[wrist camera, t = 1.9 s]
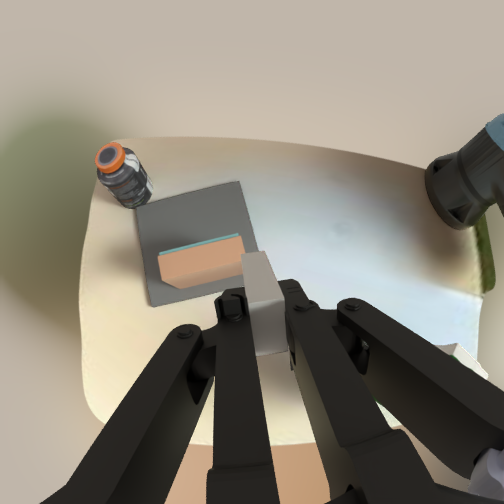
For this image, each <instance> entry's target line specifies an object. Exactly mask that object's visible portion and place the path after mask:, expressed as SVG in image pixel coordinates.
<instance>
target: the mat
mask: <svg viewBox="0 0 504 504" xmlns="http://www.w3.org/2000/svg"><path fill="white" fill-rule="evenodd" d="M136 211H137V220H138V228H139V236H140V243H141V250H142V256H143V262H144V268H145V274H146V280H147V285H148V290H149V295H150V300H151V305H152V307H157V306H162V305H166V304H171V303H175V302H179V301H184V300H188V299H192V298H197V297H201V296H205V295H209V294H213V293H217V292H222V291H225V290H226V289H231V288H238V287H242V286H245V285H244V278H243V274H241V275H237V276H233V277H229V278H225V279H221V280H217V281H212V282H208V283H204V284H200V285H196V286H192V287H188V288H183V289H179V288H177V287H175V286H173V285H170V284H168V283H166V282H164V281H162V278H161V273H160V267H159V262H158V256H160V255H159V253H160V252H163V251H167V250H171V249H175V248H179V247H183V246H187V245H191V244H195V243H199V242H203V241H207V240H211V239H215V238H219V237H223V236H228V235H232V234H236V233H238V235H239V236H241V238H242V242H243V246H244V249H245V253H252V252H259V250H258V247H257V243H256V240H255V236H254V232H253V229H252V225H251V221H250V218H249V214H248V211H247V207H246V203H245V200H244V196H243V193H242V189H241V185H240V182H239V181H237V182H232V183H227V184H223V185H219V186H214V187H210V188H206V189H202V190H198V191H194V192H190V193H186V194H182V195H178V196H174V197H171V198H167V199H163V200H160V201H156V202H153V203H149V204H146V205H142V206H139V207H136Z"/></svg>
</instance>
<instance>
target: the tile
mask: <svg viewBox="0 0 504 504" xmlns="http://www.w3.org/2000/svg"><path fill="white" fill-rule="evenodd" d="M241 254H245V249H244V246H243V242H242V238H241V236H239V235H238V233H236V234H232V235H228V236H223V237H219V238H215V239H211V240H207V241H203V242H199V243H195V244H191V245H187V246H183V247H179V248H175V249H171V250H167V251H163V252H160V253H159V255H160V256H158V262H159V267H160V273H161V278H162V281H164V282H166V283H168V284H170V285H173V286H175V287H177V288H179V289H183V288H188V287H192V286H196V285H200V284H204V283H208V282H212V281H217V280H221V279H225V278H229V277H233V276H237V275H241V274H243V270H242V262H241Z"/></svg>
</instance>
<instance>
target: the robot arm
mask: <svg viewBox="0 0 504 504" xmlns="http://www.w3.org/2000/svg"><path fill="white" fill-rule="evenodd" d="M425 183H426V189H427V192H428V195H429V198H430V200H431V203H432V205H433V206H434V208H435V210H436V211H437V213H438V214H439V215H440V217H441V218H442V219H443V220H444V221H445V222H446V223H447V224H448V225H450V226H451V227H453V228H455V229H458V230H465V229H467V228H469V227H471V226H473V225H475V224H476V223H477V222H478V221H479V219H480V218H481V217H482V216H483V214H484V213H485V212H486V211H487V209H488V208H489V207H490V206H491V205H493V204H495V203H497V204H498V206H499V208H500V210H501V213H502V215H503V217H504V114H500V115H498V116H497V117H496V118H494V119H493V120H492V121H491V122H488V123H487V124H486V126H485V127H484V128H483V129H482V130H481V131H480V132H479V133H478V134H477V135H476V136H475V137H474V138H473V139H472V140H470V141H469V142H468V143H467V144H466V145H465V146H464V147H462V148H461V149H460V150H459V151H457V152H454V153H451V154H447V155H444V156H441V157H438V158H436V159H435V160H434V161H433V162H432V163H431V164H430V165H429V166H428V167H427V170H426V174H425ZM241 262H242V270H243V278H244V285H245V287H238V288H231V289H226V290H225V291H224V292H223V293H222V295H221V296H219V297H218V298H216V299H215V301H214V304H215V309H216V314H217V318H218V324H217V325H215V326H214V327H212V328H209V329H206V330H203V331H201V329H200V327H199V326H197V325H194V324H184V325H180V326H178V327H176V328H174V329H173V330H172V331H171V332H170V333H169V335H168V336H167V337H166V339H165V340H164V342H163V343H162V344H161V346H160V347H159V349H158V350H157V351H156V353H155V354H154V356H153V357H152V358H151V360H150V361H149V363H148V364H147V365H146V367H145V368H144V370H143V371H142V373H141V374H140V375H139V377H138V378H137V380H136V381H135V383H134V384H133V386H132V387H131V388H130V390H129V391H128V393H127V394H126V396H125V397H124V398H123V400H122V401H121V403H120V404H119V406H118V407H117V409H116V410H115V412H114V413H113V415H112V416H111V417H110V419H109V420H108V422H107V423H106V425H105V426H104V428H103V429H102V431H101V433H100V434H99V435H98V437H97V438H96V440H95V441H94V443H93V444H92V446H91V447H90V449H89V450H88V452H87V453H86V455H85V456H84V458H83V459H82V461H81V463H80V464H79V466H78V467H77V469H76V470H75V472H74V473H73V475H72V476H71V478H70V479H69V481H68V482H67V484H66V485H65V486H63V487H62V488H61V489H59V490H58V491H57V492H55V493H54V494H53V495H51V496H50V497H48V498H47V499H46V500H44V501H43V502H41V503H40V504H164V503H165V501H166V498H167V496H168V493H169V491H170V488H171V486H172V484H173V481H174V479H175V476H176V474H177V471H178V469H179V467H180V464H181V462H182V459H183V457H184V454H185V452H186V449H187V447H188V445H189V442H190V440H191V437H192V435H193V432H194V430H195V427H196V425H197V422H198V420H199V417H200V415H201V412H202V410H203V407H204V405H205V402H206V400H207V397H208V394H209V392H210V389H211V387H212V384H213V382H214V376H215V391H214V427H213V466H212V468H211V469H209V470H208V473H207V482H206V486H207V487H206V504H280V501H279V495H278V489H277V483H276V478H275V472H274V465H273V459H272V454H271V447H270V441H269V435H268V429H267V423H266V417H265V411H264V405H263V398H262V392H261V386H260V379H259V373H258V366H257V360H256V356H261V355H268V354H274V353H280V352H286V351H288V345H289V348H290V364H291V370H293V369H294V372H295V375H296V378H297V382H298V385H299V388H300V391H301V395H302V398H303V401H304V404H305V408H306V411H307V414H308V417H309V421H310V424H311V427H312V430H313V434H314V437H315V440H316V444H317V447H318V450H319V453H320V457H321V459H322V463H323V467H324V470H325V473H326V476H327V480H328V483H329V488H330V499H331V501H329V502H327V503H325V504H504V392H503V391H502V390H501V389H499V388H498V387H496V386H495V385H493V384H492V383H490V382H489V381H487V380H486V379H484V378H483V377H481V376H480V375H478V374H477V373H476V372H474V371H473V370H471V369H470V368H468V367H466V366H465V365H463V364H462V363H460V362H459V361H457V360H456V359H454V358H453V357H451V356H450V355H448V354H447V353H445V352H444V351H442V350H441V349H439V348H438V347H436V346H434V345H433V344H431V343H430V342H428V341H427V340H425V339H424V338H422V337H421V336H419V335H417V334H416V333H414V332H413V331H411V330H410V329H408V328H407V327H405V326H403V325H402V324H400V323H399V322H397V321H396V320H394V319H392V318H391V317H389V316H388V315H386V314H384V313H383V312H381V311H380V310H378V309H377V308H375V307H373V306H372V305H370V304H369V303H367V302H365V301H363V300H361V299H357V298H348V299H344V300H342V301H340V302H339V303H338V304H337V309H335V310H326V309H320V307H319V306H318V304H317V303H316V302H314V301H312V300H309V299H308V297H307V296H306V294H305V292H304V291H303V289H302V287H301V286H300V284H299V282H297V281H296V280H294V279H288V280H281V281H277V279H276V277H275V274H274V272H273V270H272V267H271V265H270V263H269V260H268V258H267V255H266V253H265V251H259V252H252V253H245V254H241ZM365 342H366V343H367V345H368V347H367V346H366V345H365V344H364V343H365ZM371 394H372V395H373V396H374V397H375V398H376V399H377V400H378V401H379V402H380V403H381V404H382V405H383V406H384V407H385V408H386V409H387V410H388V411H389V412H390V413H391V414H392V415H393V416H394V417H395V418H396V419H397V420H398V421H399V422H400V423H401V424H402V425H403V426H404V427H406V428H407V429H408V430H409V431H410V432H411V433H412V434H413V435H414V436H415V437H416V438H417V439H418V440H419V441H420V442H421V443H422V444H423V445H425V447H426V448H428V449H429V450H430V451H431V452H432V453H433V454H434V455H435V456H436V457H437V458H438V459H439V460H441V462H442V463H444V464H445V465H446V466H447V467H449V468H450V469H451V470H452V471H454V472H455V473H457V474H459V475H460V476H462V477H464V478H467V479H469V480H471V482H470V484H469V487H468V492H469V493H466V492H463V491H459V490H456V489H452V488H449V487H446V486H443V485H440V484H437V483H434V481H433V479H432V477H431V475H430V474H429V472H428V470H427V468H426V466H425V465H424V463H423V461H422V459H421V457H420V456H419V454H418V452H417V450H416V449H415V447H414V445H413V444H412V442H411V440H410V438H409V437H408V435H407V434H406V433H405V432H404V431H403V430H401V429H395V430H393V429H392V428H391V427H390V426H389V425H388V423H387V421H386V419H385V417H384V416H383V414H382V412H381V410H380V409H379V407H378V405H377V403H376V402H375V400H374V398H373V396H372V395H371ZM478 495H480V496H478Z"/></svg>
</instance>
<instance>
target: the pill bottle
mask: <svg viewBox="0 0 504 504" xmlns="http://www.w3.org/2000/svg"><path fill="white" fill-rule="evenodd" d="M95 164H96V166H97V167H98V168H97V175H98V178H99V180H100V182H101V183H102V184H103V185H104V186H105V187H106V188H107V189H108V191H109V192H110V193H111V194H112V195H113V196H114V197H115V198H116V199H117V200H118V201H119V202H120V203H121V204H122V205H123V206H124V207H126V208H129V209H135V208H136V207H139V206H142V205H144V204H145V203H147V201H148V200H149V199H150V197H151V195H152V192H153V185H152V182H151V180H150V178H149V177H148V175H147V173H146V172H145V170H144V169H143V167H142V165H141V164H140V162H139V160H138V158H137V157H136V155H135V154H134V152H133V151H132V150H130V149H128V148H124V147H122V146H121V145H120V144H118V143H115V142H112V143H108V144H106V145H105V146H103V147H102V148H101V149H100V150H99V151H98V153H97V155H96V157H95Z"/></svg>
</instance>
